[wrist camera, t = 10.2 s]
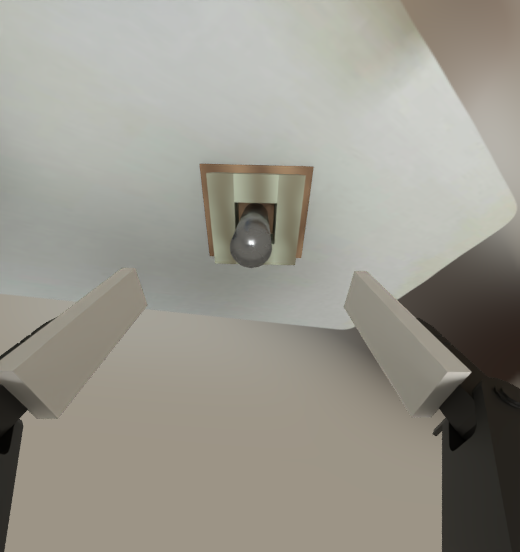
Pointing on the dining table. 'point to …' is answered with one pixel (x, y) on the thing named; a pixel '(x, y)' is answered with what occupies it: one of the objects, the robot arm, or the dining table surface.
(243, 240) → the peg
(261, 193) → the socket
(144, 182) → the dining table surface
